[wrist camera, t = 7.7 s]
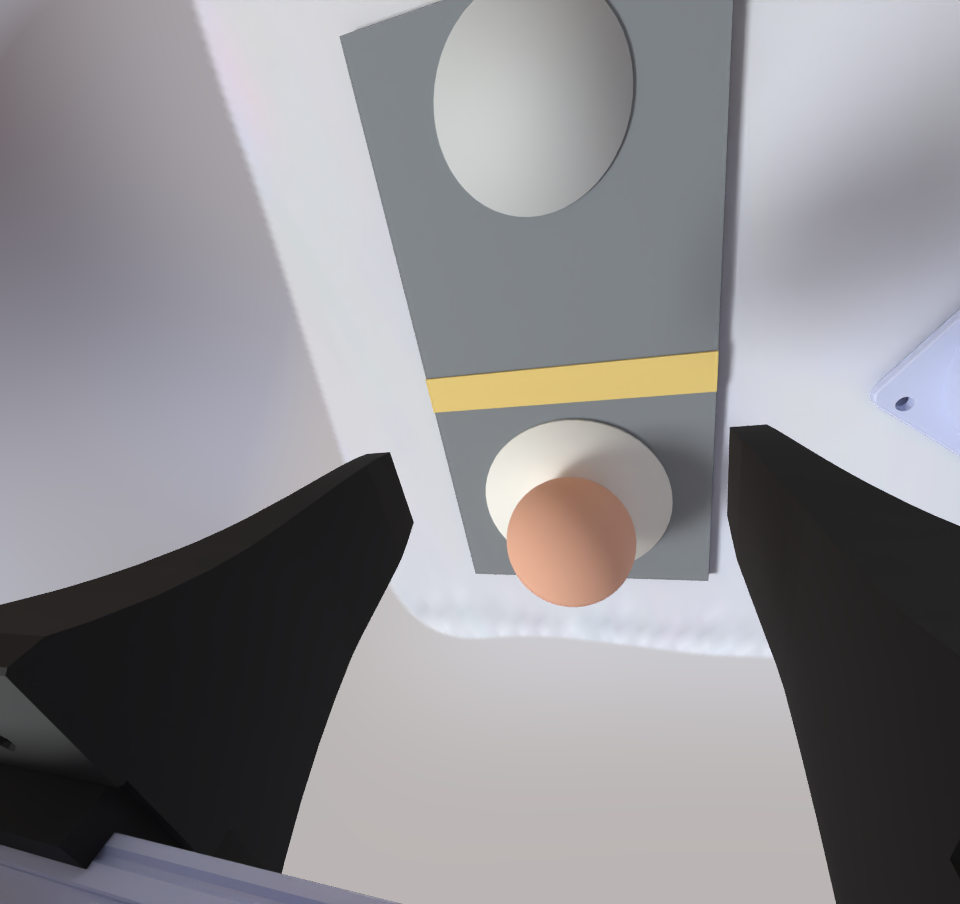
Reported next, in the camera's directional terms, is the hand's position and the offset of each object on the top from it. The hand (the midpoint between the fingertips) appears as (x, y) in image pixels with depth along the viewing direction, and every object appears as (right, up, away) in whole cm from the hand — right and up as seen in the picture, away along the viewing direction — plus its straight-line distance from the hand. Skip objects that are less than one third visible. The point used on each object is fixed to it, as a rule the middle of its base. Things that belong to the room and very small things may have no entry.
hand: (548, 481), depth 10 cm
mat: (+2, +4, +8) cm, 9 cm away
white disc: (+3, -1, +11) cm, 11 cm away
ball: (+2, -3, +9) cm, 9 cm away
